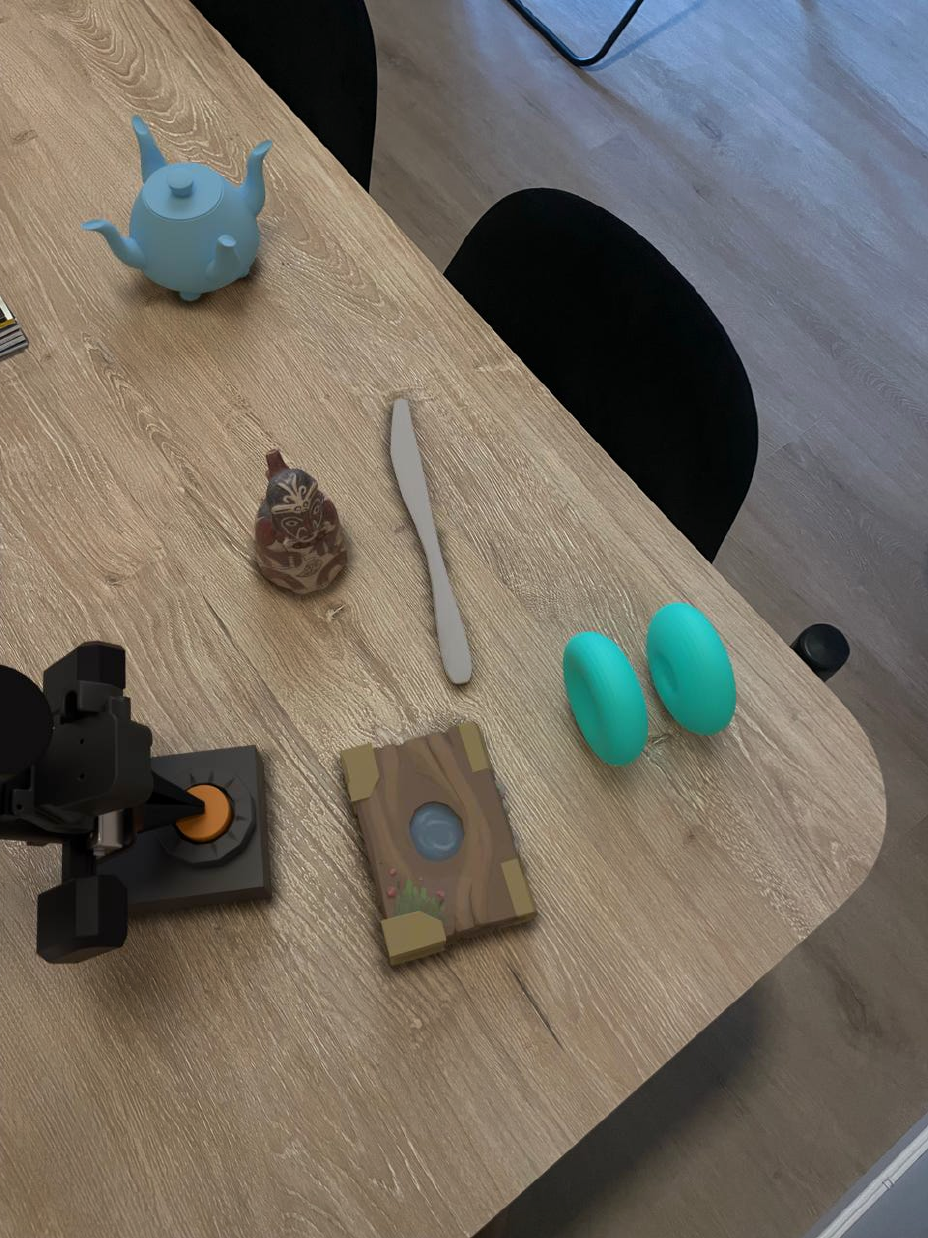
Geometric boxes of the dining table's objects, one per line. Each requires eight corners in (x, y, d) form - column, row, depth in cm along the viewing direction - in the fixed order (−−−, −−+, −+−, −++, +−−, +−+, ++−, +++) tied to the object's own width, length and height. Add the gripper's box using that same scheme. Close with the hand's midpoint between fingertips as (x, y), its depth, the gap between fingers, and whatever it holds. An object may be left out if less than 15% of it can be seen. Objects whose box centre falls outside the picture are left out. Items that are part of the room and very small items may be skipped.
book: (341, 768, 80) (336, 748, 75) (483, 730, 81) (486, 707, 77) (391, 966, 74) (389, 957, 69) (543, 921, 76) (551, 908, 71)
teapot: (288, 226, 102) (275, 137, 92) (248, 334, 96) (230, 251, 87) (157, 201, 102) (131, 111, 93) (109, 307, 97) (77, 222, 88)
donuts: (550, 670, 84) (565, 616, 74) (667, 631, 85) (695, 574, 76) (600, 788, 80) (623, 746, 71) (721, 745, 81) (758, 699, 72)
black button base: (112, 919, 75) (88, 904, 69) (112, 780, 79) (89, 755, 73) (272, 898, 76) (260, 881, 70) (263, 762, 80) (251, 736, 74)
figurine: (272, 605, 85) (250, 530, 74) (246, 531, 88) (221, 448, 77) (358, 577, 86) (349, 499, 75) (330, 505, 89) (317, 420, 78)
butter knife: (437, 686, 82) (475, 678, 82) (379, 401, 93) (413, 395, 93) (437, 689, 82) (475, 681, 83) (380, 405, 94) (414, 399, 94)
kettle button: (182, 849, 73) (174, 841, 70) (180, 797, 74) (173, 788, 72) (235, 842, 73) (230, 834, 71) (233, 791, 74) (227, 781, 72)
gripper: (28, 924, 52) (287, 928, 63) (38, 579, 59) (267, 637, 70) (-71, 967, 58) (179, 964, 69) (-50, 651, 66) (172, 694, 77)
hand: (201, 809), depth 71 cm, fingers closed, pressing on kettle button
